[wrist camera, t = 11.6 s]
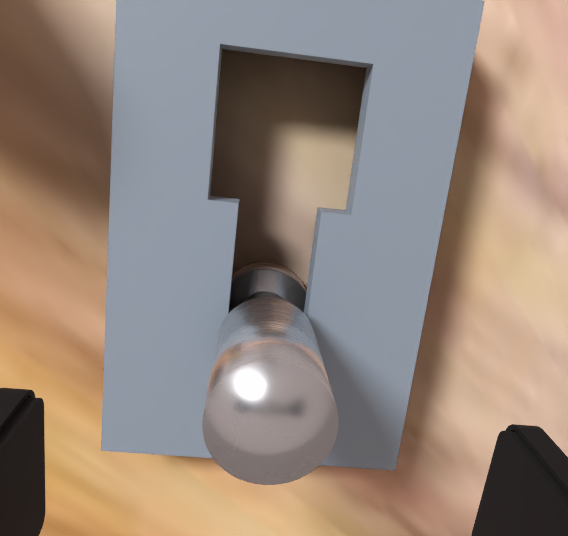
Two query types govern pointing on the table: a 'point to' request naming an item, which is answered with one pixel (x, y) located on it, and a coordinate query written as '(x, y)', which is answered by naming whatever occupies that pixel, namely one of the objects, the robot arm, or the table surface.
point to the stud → (268, 382)
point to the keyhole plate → (224, 211)
